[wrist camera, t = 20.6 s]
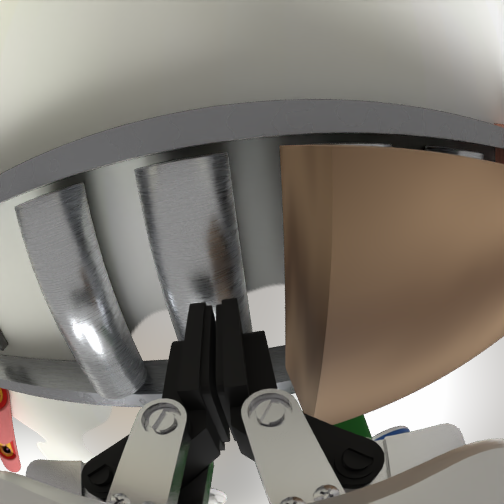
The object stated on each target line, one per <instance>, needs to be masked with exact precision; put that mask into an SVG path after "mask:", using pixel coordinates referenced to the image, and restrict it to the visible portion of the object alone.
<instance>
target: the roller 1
mask: <svg viewBox="0 0 504 504" xmlns="http://www.w3.org/2000/svg"><path fill="white" fill-rule="evenodd" d="M15 211H16V215H17V219H18V223H19V226H20V230H21V234H22V237H23V240H24V244H25V247H26V250H27V253H28V256H29V259H30V262H31V265H32V268H33V270H34V273H35V276H36V278H37V281H38V283H39V286H40V288H41V291H42V293H43V296H44V298H45V300H46V302H47V305H48V307H49V309H50V311H51V313H52V316H53V318H54V320H55V322H56V324H57V326H58V328H59V330H60V332H61V334H62V336H63V337H64V339H65V341H66V343H67V345H68V347H69V348H70V350H71V352H72V354H73V355H74V357H75V359H76V361H77V362H78V364H79V366H80V367H81V369H82V370H83V372H84V374H85V375H86V377H87V378H88V380H89V381H90V383H91V384H92V386H93V387H94V389H95V390H96V392H97V393H98V394H99V395H100V396H102V397H104V398H107V399H113V400H114V399H122V398H125V397H128V396H130V395H132V394H133V393H135V392H136V391H137V390H138V389H139V388H140V387H141V386H142V385H143V383H144V382H145V379H146V376H147V370H146V367H145V365H144V363H143V360H142V358H141V356H140V354H139V352H138V350H137V348H136V346H135V343H134V341H133V339H132V336H131V334H130V332H129V329H128V327H127V325H126V322H125V320H124V317H123V315H122V312H121V310H120V307H119V304H118V302H117V299H116V296H115V294H114V291H113V288H112V285H111V282H110V279H109V276H108V273H107V270H106V267H105V264H104V261H103V258H102V254H101V251H100V248H99V244H98V241H97V237H96V233H95V230H94V226H93V222H92V218H91V214H90V210H89V205H88V201H87V196H86V191H85V187H84V182H82V183H78V184H75V185H71V186H68V187H65V188H62V189H59V190H56V191H53V192H50V193H47V194H45V195H42V196H39V197H37V198H34V199H32V200H29V201H27V202H24V203H22V204H20V205H18V206H16V207H15Z"/></svg>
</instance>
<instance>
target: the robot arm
mask: <svg viewBox="0 0 504 504" xmlns="http://www.w3.org/2000/svg"><path fill="white" fill-rule="evenodd" d="M229 427H230V430H231V433H232V435H233V438H234V440H235V441H237V443H238V446H239V449H240V451H241V453H242V454H244V455H245V456H247V457H248V458H250V459H252V460H253V461H255V464H256V467H257V469H258V472H259V475H260V478H261V481H262V484H263V487H264V489H265V492H266V495H267V498H268V500H269V503H270V504H504V439H487V440H482V441H477V442H473V443H470V444H467V445H466V444H465V441H464V438H463V435H462V433H461V431H460V429H459V428H457V427H456V426H454V425H452V424H448V423H446V424H440V425H436V426H432V427H428V428H425V429H420V430H416V431H412V432H407V433H402V434H397V435H392V436H386V437H385V438H384V439H383V440H377V441H373V440H371V439H369V438H366V437H363V436H360V435H358V434H355V433H352V432H349V431H347V430H344V429H341V428H339V427H336V426H334V425H331V424H329V423H326V422H324V421H322V420H319V419H317V418H315V417H312V416H310V415H308V414H305V413H303V412H302V410H301V408H300V406H299V404H298V402H297V401H296V399H295V398H294V397H293V396H292V395H291V394H289V393H288V392H286V391H283V390H280V389H278V388H277V384H276V380H275V375H274V371H273V367H272V362H271V358H270V353H269V349H268V345H267V340H266V336H265V332H264V331H258V332H251V333H244V334H243V330H242V324H241V318H240V312H239V306H238V300H237V298H230V299H223V300H222V304H216V320H215V316H214V311H213V307H212V305H209V306H207V305H206V302H200V303H192V304H190V305H189V311H188V317H187V323H186V329H185V336H184V341H174V342H173V343H172V345H171V350H170V355H169V360H168V365H167V371H166V376H165V382H164V388H163V394H162V399H157V400H153V401H151V402H149V403H147V404H145V405H144V406H143V407H142V408H141V409H140V411H139V413H138V414H137V417H136V419H135V422H134V425H133V427H132V430H131V432H130V434H129V435H128V436H126V437H125V438H123V439H122V440H120V441H119V442H117V443H116V444H114V445H113V446H111V447H110V448H108V449H106V450H105V451H103V452H102V453H100V454H99V455H97V456H96V457H94V458H92V459H91V460H90V461H88V462H87V463H83V462H82V461H56V460H35V461H33V462H31V463H30V464H29V466H28V467H27V471H26V477H25V476H23V475H19V474H16V473H12V472H7V471H0V504H223V503H225V502H226V500H227V497H226V494H225V493H224V492H222V491H219V490H217V489H213V488H211V481H212V474H213V468H214V463H213V461H214V460H215V459H216V458H217V457H218V456H219V455H220V450H225V444H224V442H229V441H230V430H229Z"/></svg>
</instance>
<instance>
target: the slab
mask: <svg viewBox="0 0 504 504" xmlns="http://www.w3.org/2000/svg"><path fill="white" fill-rule="evenodd" d="M279 148H280V165H281V183H282V205H283V230H284V263H285V325H286V327H285V332H286V333H285V334H286V336H285V338H286V339H285V340H286V345H285V367H286V370H287V373H288V375H289V378H290V380H291V383H292V385H293V388H294V390H295V393H296V395H297V397H298V400H299V402H300V405H301V407H302V410H303V412H304V413H305V414H308V415H310V416H312V417H315V418H317V419H319V420H322V421H324V422H326V423H329V424H331V425H335V424H338V423H341V422H344V421H347V420H349V419H352V418H355V417H358V416H360V415H363V414H366V413H368V412H371V411H373V410H376V409H378V408H381V407H383V406H385V405H388V404H390V403H392V402H394V401H397V400H399V399H401V398H403V397H405V396H407V395H409V394H411V393H414V392H415V391H417V390H419V389H421V388H423V387H425V386H427V385H429V384H431V383H433V382H435V381H436V380H438V379H440V378H441V377H443V376H445V375H447V374H449V373H450V372H452V371H454V370H455V369H457V368H458V367H460V366H462V365H463V364H465V363H466V362H468V361H470V360H471V359H472V358H474V357H475V356H477V355H478V354H480V353H481V352H483V351H484V350H485V349H487V348H488V347H490V346H491V345H492V344H494V343H495V342H496V341H498V340H499V339H500V338H502V337H503V336H504V164H501V163H497V162H492V161H488V160H483V159H477V158H472V157H466V156H461V155H454V154H448V153H441V152H433V151H425V150H416V149H406V148H394V147H380V146H361V145H280V146H279Z"/></svg>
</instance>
